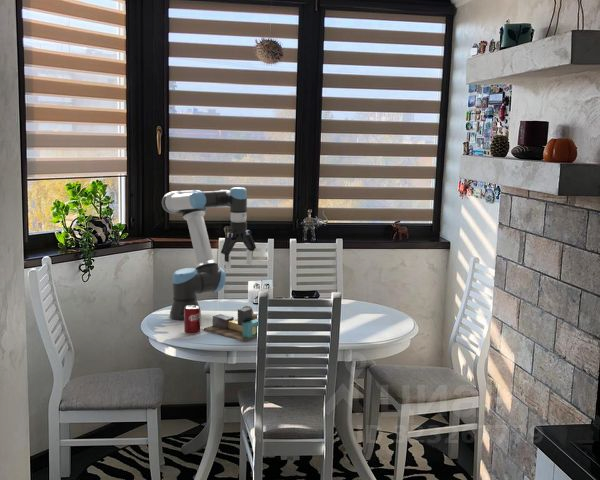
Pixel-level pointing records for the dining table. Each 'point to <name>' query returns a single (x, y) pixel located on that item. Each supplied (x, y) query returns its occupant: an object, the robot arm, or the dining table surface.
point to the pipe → (254, 316)
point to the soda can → (192, 319)
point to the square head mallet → (241, 320)
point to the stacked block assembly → (221, 323)
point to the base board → (228, 333)
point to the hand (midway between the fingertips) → (238, 266)
